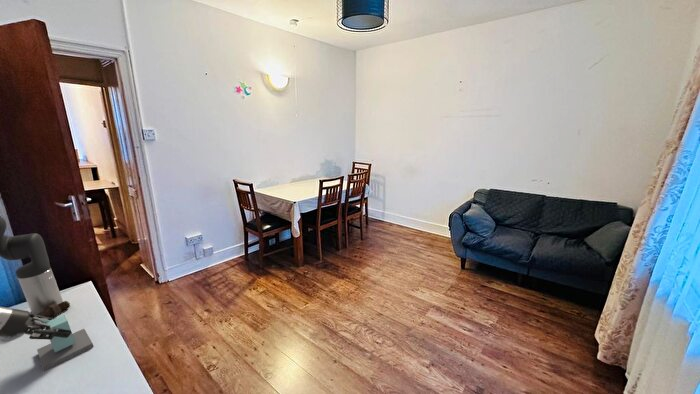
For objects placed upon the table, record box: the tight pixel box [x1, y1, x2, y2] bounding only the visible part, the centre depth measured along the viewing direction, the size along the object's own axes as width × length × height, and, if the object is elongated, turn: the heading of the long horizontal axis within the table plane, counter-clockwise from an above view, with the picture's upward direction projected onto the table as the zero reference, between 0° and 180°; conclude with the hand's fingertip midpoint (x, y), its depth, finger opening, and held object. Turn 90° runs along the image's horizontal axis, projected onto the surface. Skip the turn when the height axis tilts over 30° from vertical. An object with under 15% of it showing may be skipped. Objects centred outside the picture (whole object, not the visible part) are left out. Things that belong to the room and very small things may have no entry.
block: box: [45, 314, 75, 352], centre depth 95 cm, size 5×5×9 cm
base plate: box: [36, 328, 94, 372], centre depth 96 cm, size 12×12×4 cm
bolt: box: [20, 300, 71, 334], centre depth 112 cm, size 6×5×15 cm
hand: (67, 330), depth 96 cm, fingers closed on block, 4 cm apart
